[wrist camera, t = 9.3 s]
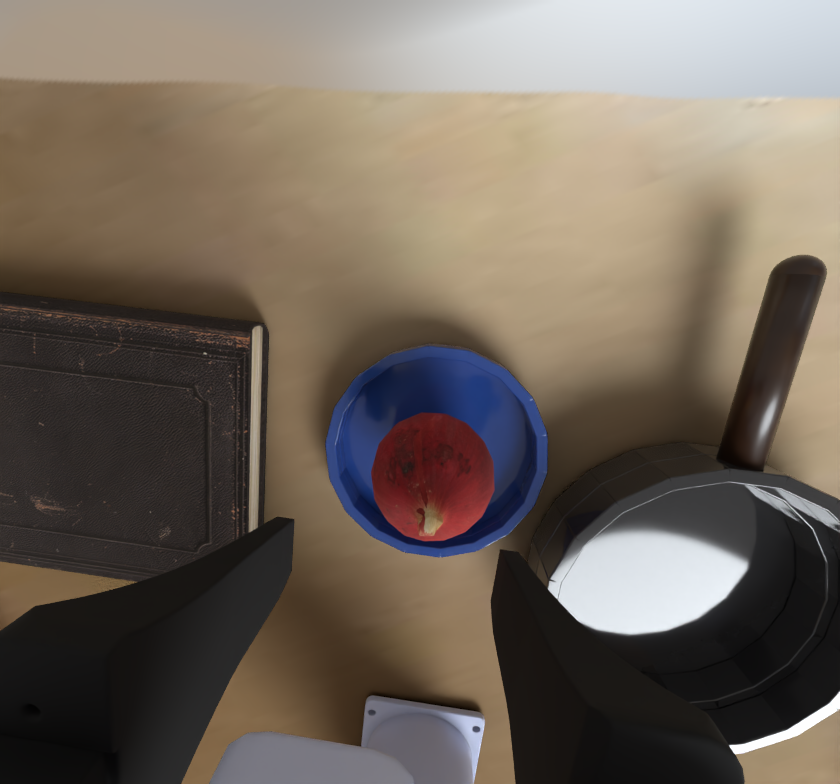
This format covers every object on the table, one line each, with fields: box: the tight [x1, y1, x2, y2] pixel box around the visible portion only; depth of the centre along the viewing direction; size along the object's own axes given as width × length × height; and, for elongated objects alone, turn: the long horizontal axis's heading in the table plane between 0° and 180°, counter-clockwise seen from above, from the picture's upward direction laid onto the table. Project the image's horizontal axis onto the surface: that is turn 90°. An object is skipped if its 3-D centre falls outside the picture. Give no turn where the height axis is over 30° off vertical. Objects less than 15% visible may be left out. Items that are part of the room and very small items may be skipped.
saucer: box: [325, 343, 548, 557], centre depth 21 cm, size 12×12×2 cm
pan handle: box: [717, 255, 827, 470], centre depth 18 cm, size 10×2×2 cm, turn 174°
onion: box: [371, 412, 494, 541], centre depth 18 cm, size 6×6×8 cm
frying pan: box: [528, 442, 840, 754], centre depth 21 cm, size 16×16×4 cm
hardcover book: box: [0, 292, 269, 582], centre depth 23 cm, size 16×23×2 cm
